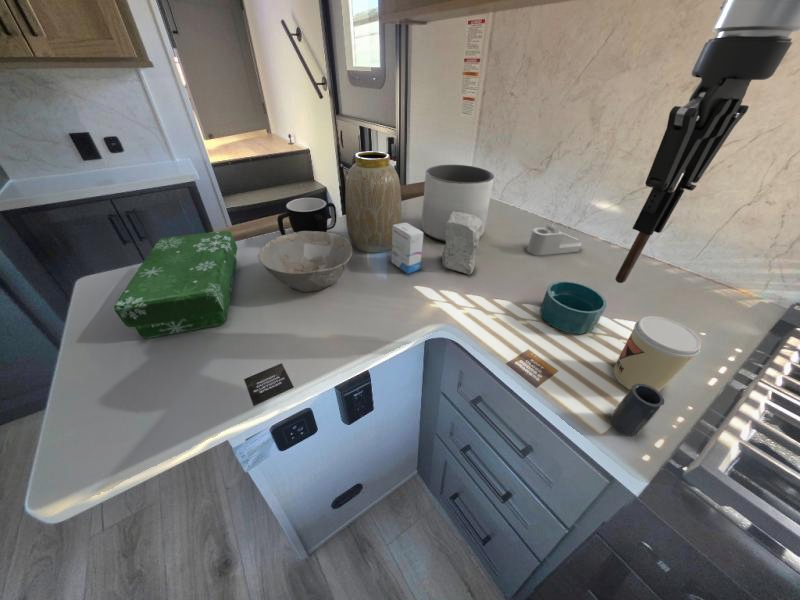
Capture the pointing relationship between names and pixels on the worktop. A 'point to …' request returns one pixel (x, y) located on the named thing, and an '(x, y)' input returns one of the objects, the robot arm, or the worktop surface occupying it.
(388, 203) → the vase
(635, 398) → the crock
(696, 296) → the worktop surface
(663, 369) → the coffee cup
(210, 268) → the box
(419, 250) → the ink box
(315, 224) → the mug
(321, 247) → the ceramic bowl
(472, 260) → the decorative stone
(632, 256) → the stick
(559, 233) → the grey mounting bracket
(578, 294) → the teal bowl
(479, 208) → the planter
